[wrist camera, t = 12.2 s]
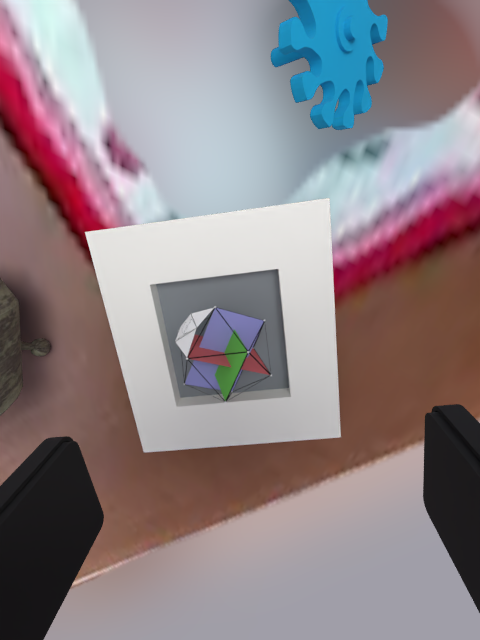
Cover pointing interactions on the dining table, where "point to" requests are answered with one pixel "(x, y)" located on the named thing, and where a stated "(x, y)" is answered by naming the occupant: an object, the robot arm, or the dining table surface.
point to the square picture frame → (233, 295)
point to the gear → (333, 56)
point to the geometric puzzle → (220, 349)
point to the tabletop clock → (13, 348)
